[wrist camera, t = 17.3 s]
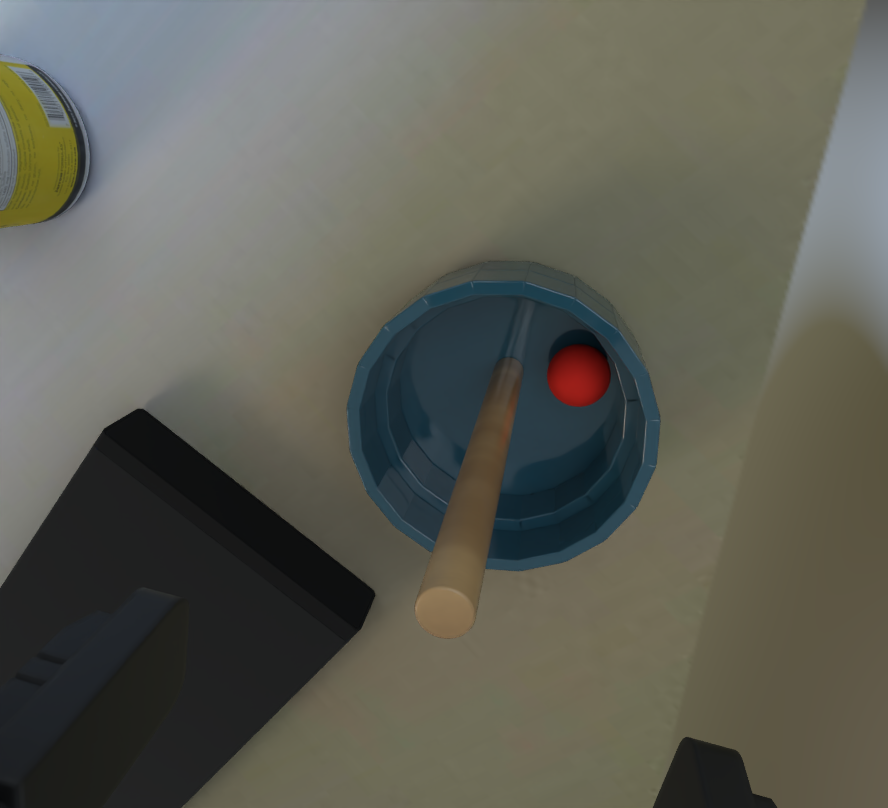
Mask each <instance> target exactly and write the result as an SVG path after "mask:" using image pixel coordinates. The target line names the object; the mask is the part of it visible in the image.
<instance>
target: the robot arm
mask: <svg viewBox="0 0 888 808" xmlns="http://www.w3.org/2000/svg"><path fill="white" fill-rule="evenodd" d="M188 625H189V603H188V600H187V599H185V598H181V597H178V596H174V595H170V594H167V593H163V592H159V591H156V590H152V589H148V588H145V587H141V588H139V589H137V590H136V591H135V592H133V593H132V594H131V595H130V596H129V597H128V598H127V599H126V600H125V601H124V602H123V603H122V605H121V606H120V607H119V608H118V609H117V610H116V611H115V612H114V613H113V614H110V613H106V612H102V611H99V610H97V611H95V612H93V613H91V614H89V615H88V616H86V617H84V618H82V619H80V620H78V621H76V622H74V623H72V624H70V625H68V626H66V627H64V628H63V629H62V630H61V631H60V632H59V633H58V634H57V635H56V636H55V637H53V638H52V639H51V640H50V641H49V642H48V643H47V644H46V645H45V646H44V647H43V648H42V649H41V650H40V651H39V652H38V655H37V656H36V657H32V658H31V659H30V660H29V661H28V662H27V663H26V664H25V665H24V666H23V667H22V668H21V669H20V670H19V671H18V672H17V674H16V676H15V677H14V678H10V679H9V680H8V681H7V682H6V683H5V684H4V685H3V686H2V687H1V688H0V808H103V806H104V805H105V803H106V802H107V800H108V799H109V798H110V796H111V795H112V793H113V792H114V791H115V789H116V788H117V786H118V785H119V784H120V782H121V781H122V779H123V778H124V776H125V775H126V774H127V772H128V771H129V769H130V768H131V767H132V765H133V764H134V762H135V761H136V759H137V758H138V757H139V755H140V754H141V752H142V751H143V750H144V748H145V747H146V745H147V744H148V742H149V741H150V740H151V738H152V737H153V735H154V734H155V733H156V731H157V730H158V728H159V727H160V725H161V724H162V723H163V721H164V720H165V718H166V717H167V716H168V714H169V713H170V711H171V710H172V708H173V706H174V704H175V702H176V700H177V698H178V696H179V694H180V691H181V688H182V685H183V682H184V678H185V672H186V659H187V642H188ZM653 808H777V806H776V805H775V804H774V802H773V801H772V799H770V798H767V797H763V796H759V795H756V794H752V791H751V788H750V784H749V780H748V777H747V773H746V770H745V767H744V763H743V760H742V757H741V755H740V754H739V753H738V752H737V751H736V750H733V749H729V748H726V747H722V746H719V745H715V744H711V743H708V742H704V741H700V740H696V739H693V738H689V737H685V738H684V739H683V740H682V741H681V742H680V745H679V746H678V749H677V751H676V753H675V756H674V758H673V761H672V763H671V765H670V768H669V770H668V772H667V775H666V777H665V780H664V782H663V784H662V787H661V789H660V791H659V794H658V796H657V798H656V801H655V803H654V806H653Z"/></svg>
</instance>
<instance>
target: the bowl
mask: <svg viewBox="0 0 888 808" xmlns="http://www.w3.org/2000/svg"><path fill="white" fill-rule="evenodd" d="M574 344H584V345H589V346H591V347H594V348H595V349H597V350H598V351H600V352H601V353H602V354H603V355H604V356H605V358H606V359H607V361H608V363H609V366H610V371H611V380H610V384H609V387H608V389H607V391H606V392H605V394H604V395H603V396H602V397H601V398H600V399H599V400H598V401H596V402H595V403H593V404H591V405H588V406H583V407H575V406H570V405H567V404H565V403H563V402H561V401H560V400H558V399H557V398H556V397H555V396H554V394H553V393H552V392H551V390H550V388H549V385H548V381H547V371H548V367H549V364H550V362H551V360H552V358H553V357H554V356H555V354H556V353H557V352H559V351H560V350H561V349H563V348H565V347H567V346H570V345H574ZM507 357H510V358H514V359H516V360H518V361H519V362H520V363H521V365H522V367H523V378H522V383H521V389H520V394H519V399H518V404H517V409H516V414H515V419H514V424H513V429H512V435H511V440H510V445H509V450H508V455H507V460H506V465H505V470H504V475H503V481H502V486H501V491H500V496H499V501H498V506H497V511H496V516H495V521H494V527H493V532H492V537H491V542H490V547H489V552H488V557H487V562H486V567H485V569H494V570H508V571H524V570H529V569H534V568H539V567H544V566H549V565H553V564H558V563H563V562H564V561H565V562H566V561H568V560H570V559H572V558H574V557H576V556H577V555H579V554H581V553H583V552H585V551H587V550H589V549H591V548H592V547H594V546H596V545H598V544H600V543H602V542H604V541H605V540H606V539H607V538H608V537H609V536H610V535H611V534H612V533H613V532H614V531H615V530H616V529H617V528H618V527H619V526H620V525H621V524H622V523H623V522H624V521H625V520H626V519H627V517H628V516H629V515H630V514H631V513H632V512H633V511H634V510H635V509H636V507H637V506H638V504H639V502H640V500H641V498H642V496H643V494H644V492H645V490H646V487H647V485H648V483H649V481H650V479H651V477H652V475H653V472H654V470H655V468H656V465H657V455H658V444H659V433H660V422H661V420H660V414H659V410H658V407H657V403H656V399H655V395H654V392H653V388H652V384H651V380H650V377H649V373H648V370H647V368H646V365H645V362H644V360H643V357H642V354H641V352H640V349H639V346H638V344H637V341H636V339H635V337H634V336H633V334H632V333H631V331H630V330H629V328H628V327H627V325H626V324H625V322H624V321H623V320H622V318H621V317H620V315H619V314H618V312H617V311H616V309H615V308H614V306H613V305H612V304H610V302H609V301H608V300H607V299H605V298H604V297H603V296H601V295H600V294H599V293H597V292H596V291H595V290H593V289H592V288H590V287H589V286H588V285H586V284H585V283H584V282H582V281H581V280H580V279H578V278H577V277H574V276H573V275H571V274H568V273H565V272H562V271H559V270H556V269H553V268H549V267H546V266H543V265H540V264H537V263H534V262H532V263H531V262H514V261H488V262H483V263H480V264H477V265H474V266H471V267H468V268H464V269H461V270H458V271H455V272H452V273H449V274H446V275H445V276H443V277H441V278H440V279H438V280H437V281H436V282H434V283H433V284H432V285H430V286H429V287H428V288H426V289H425V290H424V291H422V292H421V293H420V294H418V295H417V296H415V297H414V298H413V299H412V300H410V301H409V302H408V303H407V304H406V305H405V306H404V307H403V308H402V309H401V310H400V311H399V312H398V313H397V314H395V315H394V316H393V317H392V318H391V319H390V320H389V321H388V322H387V323H386V324H385V325H384V326H383V327H382V329H381V330H380V332H379V333H378V335H377V336H376V338H375V339H374V341H373V342H372V343H371V345H370V346H369V348H368V349H367V351H366V352H365V354H364V355H363V357H362V358H361V360H360V361H359V364H358V365H357V369H356V373H355V376H354V380H353V384H352V388H351V392H350V395H349V399H348V403H347V408H346V409H347V423H348V436H349V450H350V453H351V456H352V458H353V461H354V463H355V466H356V468H357V470H358V473H359V475H360V478H361V480H362V483H363V485H364V488H365V490H366V492H367V494H368V495H369V496H370V497H371V499H372V500H373V501H374V502H375V504H376V505H377V506H378V507H379V508H380V510H381V511H382V512H383V513H384V515H385V516H386V517H387V518H388V520H389V521H390V522H391V523H392V524H393V526H395V527H396V528H397V529H398V530H400V531H401V532H402V533H404V534H405V535H407V536H408V537H410V538H411V539H413V540H414V541H415V542H417V543H418V544H420V545H421V546H423V547H424V548H425V549H427V550H428V551H430V552H433V549H434V546H435V543H436V540H437V537H438V534H439V531H440V528H441V525H442V522H443V519H444V516H445V513H446V510H447V507H448V504H449V501H450V498H451V495H452V492H453V489H454V486H455V483H456V480H457V477H458V474H459V471H460V468H461V465H462V462H463V460H464V457H465V454H466V451H467V448H468V445H469V442H470V439H471V436H472V433H473V430H474V427H475V424H476V421H477V418H478V415H479V412H480V409H481V406H482V403H483V400H484V397H485V394H486V391H487V388H488V385H489V382H490V379H491V376H492V373H493V370H494V367H495V365H496V363H497V362H498V361H499V360H501V359H503V358H507Z"/></svg>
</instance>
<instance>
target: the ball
mask: <svg viewBox="0 0 888 808" xmlns="http://www.w3.org/2000/svg"><path fill="white" fill-rule="evenodd" d="M610 380H611V371H610V366H609V363H608V361H607V359H606V358H605V356H604V355H603V354H602V353H601V352H600V351H598V350H597V349H595V348H594V347H591V346H589V345H584V344H574V345H570V346H567V347H565V348H563V349H561V350H560V351H559V352H557V353H556V354H555V356H554V357H553V358H552V360H551V362H550V364H549V367H548V371H547V381H548V385H549V388H550V390H551V392H552V393H553V394H554V396H555V397H556V398H557V399H558V400H560V401H561V402H563V403H565V404H567V405H570V406H575V407H583V406H588V405H591V404H593V403H595V402H596V401H598V400H599V399H600V398H601V397H602V396H603V395H604V394H605V392H606V391H607V389H608V387H609V384H610Z"/></svg>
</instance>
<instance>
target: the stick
mask: <svg viewBox="0 0 888 808" xmlns="http://www.w3.org/2000/svg"><path fill="white" fill-rule="evenodd" d="M522 378H523V367H522V365H521V363H520V362H519V361H518V360H516V359H514V358H510V357H507V358H503V359H501V360H499V361H498V362H497V363H496V365H495V367H494V370H493V373H492V376H491V379H490V382H489V385H488V388H487V391H486V394H485V397H484V400H483V403H482V406H481V409H480V412H479V415H478V418H477V421H476V424H475V427H474V430H473V433H472V436H471V439H470V442H469V445H468V448H467V451H466V454H465V457H464V460H463V462H462V465H461V468H460V471H459V474H458V477H457V480H456V483H455V486H454V489H453V492H452V495H451V498H450V501H449V504H448V507H447V510H446V513H445V516H444V519H443V522H442V525H441V528H440V531H439V534H438V537H437V540H436V543H435V546H434V549H433V552H432V555H431V558H430V561H429V564H428V566H427V569H426V572H425V575H424V578H423V581H422V584H421V587H420V590H419V593H418V596H417V599H416V602H415V615H416V618H417V620H418V622H419V624H420V625H421V626H422V627H423V629H425V630H426V631H427V632H428V633H430V634H432V635H434V636H436V637H440V638H447V639H450V638H457V637H460V636H462V635H464V634H465V633H467V632H468V631H469V630H470V629H471V628H472V626H473V624H474V622H475V619H476V613H477V608H478V603H479V598H480V593H481V588H482V583H483V578H484V573H485V567H486V562H487V557H488V552H489V547H490V542H491V537H492V532H493V527H494V521H495V516H496V511H497V506H498V501H499V496H500V491H501V486H502V481H503V475H504V470H505V465H506V460H507V455H508V450H509V445H510V440H511V435H512V429H513V424H514V419H515V414H516V409H517V404H518V399H519V394H520V389H521V383H522Z"/></svg>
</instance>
